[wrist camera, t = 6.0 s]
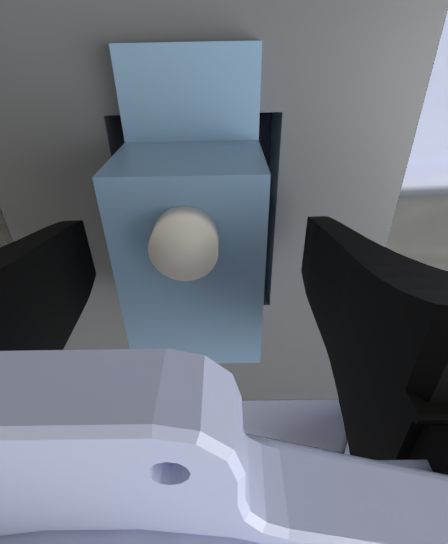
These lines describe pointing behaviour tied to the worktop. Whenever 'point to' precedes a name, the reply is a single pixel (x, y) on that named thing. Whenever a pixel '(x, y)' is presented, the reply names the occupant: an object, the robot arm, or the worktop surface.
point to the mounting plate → (273, 98)
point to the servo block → (188, 197)
